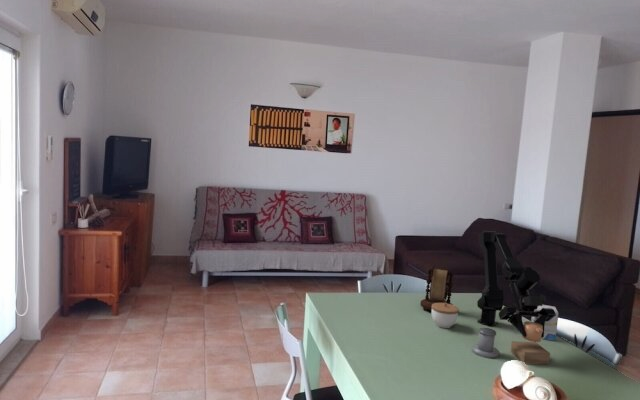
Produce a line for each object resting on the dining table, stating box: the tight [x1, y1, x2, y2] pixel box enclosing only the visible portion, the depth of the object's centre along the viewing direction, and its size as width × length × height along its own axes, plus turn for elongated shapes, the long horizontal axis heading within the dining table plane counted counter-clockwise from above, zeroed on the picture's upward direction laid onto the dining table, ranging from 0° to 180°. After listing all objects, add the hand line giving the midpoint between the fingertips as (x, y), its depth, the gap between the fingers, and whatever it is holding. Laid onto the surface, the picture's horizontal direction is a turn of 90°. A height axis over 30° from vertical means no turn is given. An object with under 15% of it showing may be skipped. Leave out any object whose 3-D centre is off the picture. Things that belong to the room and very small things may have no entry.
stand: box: [510, 340, 551, 365], centre depth 160 cm, size 9×9×4 cm
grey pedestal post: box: [471, 327, 500, 359], centre depth 162 cm, size 9×9×8 cm
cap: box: [521, 320, 543, 343], centre depth 159 cm, size 8×6×5 cm
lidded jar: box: [430, 303, 460, 329], centre depth 186 cm, size 11×11×9 cm
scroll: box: [420, 264, 454, 311], centre depth 204 cm, size 15×15×20 cm
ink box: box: [530, 304, 559, 342], centre depth 183 cm, size 9×8×12 cm
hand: (533, 336), depth 158 cm, fingers closed on cap, 6 cm apart
